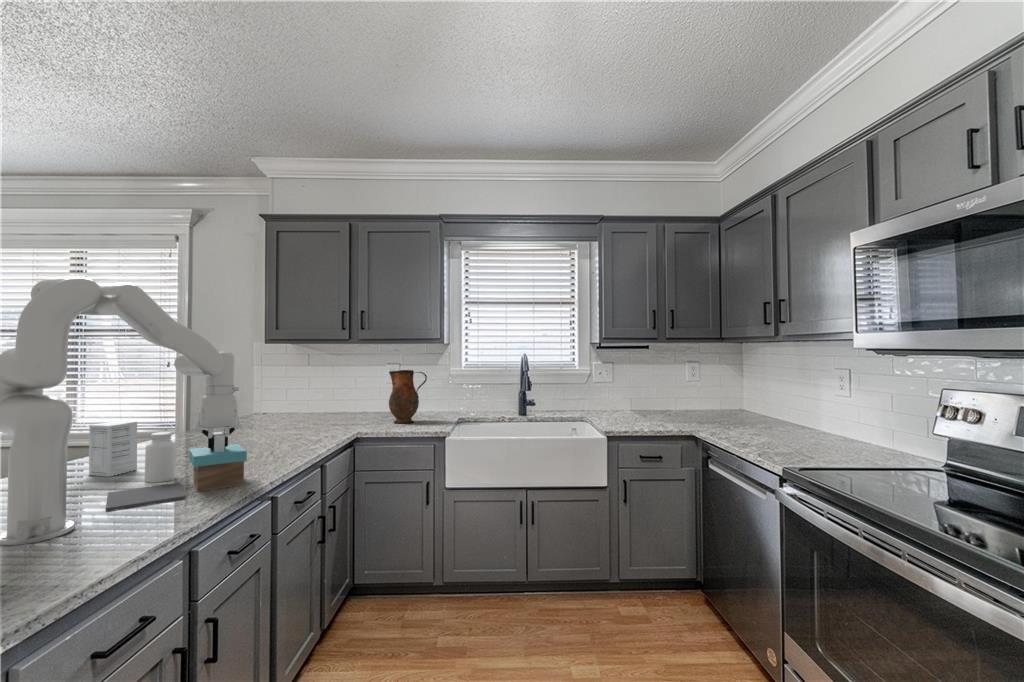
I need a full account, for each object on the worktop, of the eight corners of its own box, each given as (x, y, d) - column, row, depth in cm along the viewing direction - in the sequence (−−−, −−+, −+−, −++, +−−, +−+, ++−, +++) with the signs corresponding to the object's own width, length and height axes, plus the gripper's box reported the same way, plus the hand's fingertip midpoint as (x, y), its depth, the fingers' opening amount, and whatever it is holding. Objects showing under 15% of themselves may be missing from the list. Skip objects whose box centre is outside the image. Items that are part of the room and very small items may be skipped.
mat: (184, 498, 134) (185, 495, 134) (105, 511, 123) (105, 508, 123) (180, 484, 147) (180, 482, 147) (108, 495, 136) (108, 492, 136)
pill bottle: (159, 484, 147) (160, 435, 148) (138, 482, 149) (138, 434, 149) (181, 477, 155) (182, 431, 155) (161, 475, 157) (162, 430, 157)
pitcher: (389, 420, 277) (390, 369, 278) (426, 420, 281) (426, 369, 281) (387, 425, 261) (387, 370, 261) (426, 424, 265) (426, 370, 265)
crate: (243, 484, 148) (244, 458, 148) (197, 491, 140) (198, 464, 140) (236, 476, 157) (237, 452, 157) (193, 482, 149) (193, 457, 150)
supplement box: (138, 470, 163) (138, 421, 164) (109, 477, 155) (110, 425, 155) (116, 468, 166) (117, 420, 166) (87, 475, 157) (88, 424, 157)
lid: (246, 460, 147) (247, 434, 147) (193, 467, 139) (194, 439, 139) (238, 453, 158) (239, 429, 158) (188, 458, 149) (189, 433, 149)
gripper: (246, 389, 157) (244, 445, 156) (187, 391, 147) (185, 450, 146) (250, 390, 151) (249, 448, 150) (189, 392, 141) (187, 455, 140)
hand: (217, 449), depth 148 cm, fingers closed on lid, 2 cm apart
